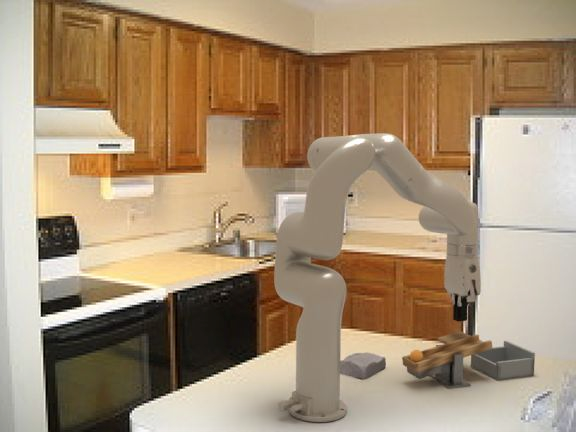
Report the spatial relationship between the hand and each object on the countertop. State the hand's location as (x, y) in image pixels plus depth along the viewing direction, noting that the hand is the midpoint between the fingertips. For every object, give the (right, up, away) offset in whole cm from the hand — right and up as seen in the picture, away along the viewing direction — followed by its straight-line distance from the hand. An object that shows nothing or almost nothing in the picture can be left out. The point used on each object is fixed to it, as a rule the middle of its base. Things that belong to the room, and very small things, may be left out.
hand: (460, 320), depth 163 cm
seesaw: (-6, -9, -4) cm, 12 cm away
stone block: (-26, -13, 0) cm, 29 cm away
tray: (+11, -13, 0) cm, 17 cm away
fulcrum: (-5, -14, -7) cm, 16 cm away
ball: (-14, -7, -11) cm, 19 cm away
